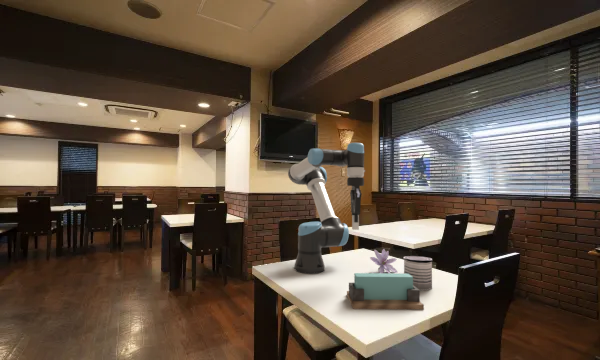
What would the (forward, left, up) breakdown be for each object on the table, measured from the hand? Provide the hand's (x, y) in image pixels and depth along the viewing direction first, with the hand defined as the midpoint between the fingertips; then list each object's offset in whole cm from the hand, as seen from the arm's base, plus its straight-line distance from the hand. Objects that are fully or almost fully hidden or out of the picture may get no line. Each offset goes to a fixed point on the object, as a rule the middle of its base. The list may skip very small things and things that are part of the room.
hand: (355, 229), depth 123 cm
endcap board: (+5, -24, -22) cm, 33 cm away
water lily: (+17, +11, -23) cm, 30 cm away
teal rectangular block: (+5, -24, -21) cm, 32 cm away
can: (+25, -7, -23) cm, 34 cm away
